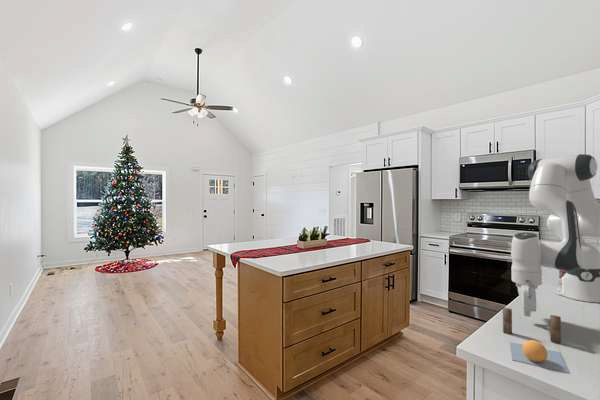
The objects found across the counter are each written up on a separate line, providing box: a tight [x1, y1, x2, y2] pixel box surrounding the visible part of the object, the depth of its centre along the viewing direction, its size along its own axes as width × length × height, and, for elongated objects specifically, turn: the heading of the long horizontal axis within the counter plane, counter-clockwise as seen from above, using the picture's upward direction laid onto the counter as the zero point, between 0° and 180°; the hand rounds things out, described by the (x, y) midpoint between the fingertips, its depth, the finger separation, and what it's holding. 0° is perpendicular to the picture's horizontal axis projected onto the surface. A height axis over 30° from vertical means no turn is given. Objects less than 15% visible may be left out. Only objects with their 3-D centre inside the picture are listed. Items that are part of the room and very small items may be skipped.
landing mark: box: [509, 341, 570, 374], centre depth 85 cm, size 12×12×1 cm
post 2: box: [549, 314, 562, 345], centre depth 93 cm, size 2×2×8 cm
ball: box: [522, 339, 548, 362], centre depth 83 cm, size 6×6×6 cm
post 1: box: [502, 307, 513, 335], centre depth 100 cm, size 2×2×8 cm
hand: (527, 315), depth 108 cm, fingers closed
